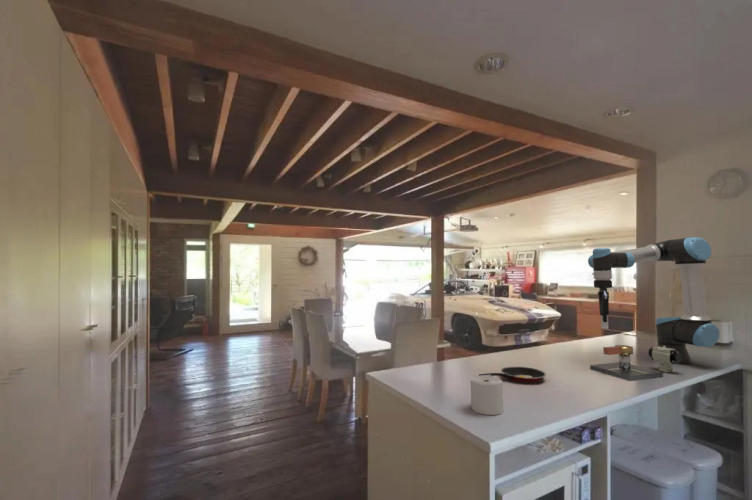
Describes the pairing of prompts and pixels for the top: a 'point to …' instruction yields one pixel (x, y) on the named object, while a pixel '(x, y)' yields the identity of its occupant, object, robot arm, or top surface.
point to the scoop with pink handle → (618, 350)
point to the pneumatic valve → (665, 357)
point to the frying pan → (520, 374)
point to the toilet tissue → (486, 395)
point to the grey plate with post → (626, 369)
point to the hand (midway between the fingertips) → (604, 328)
